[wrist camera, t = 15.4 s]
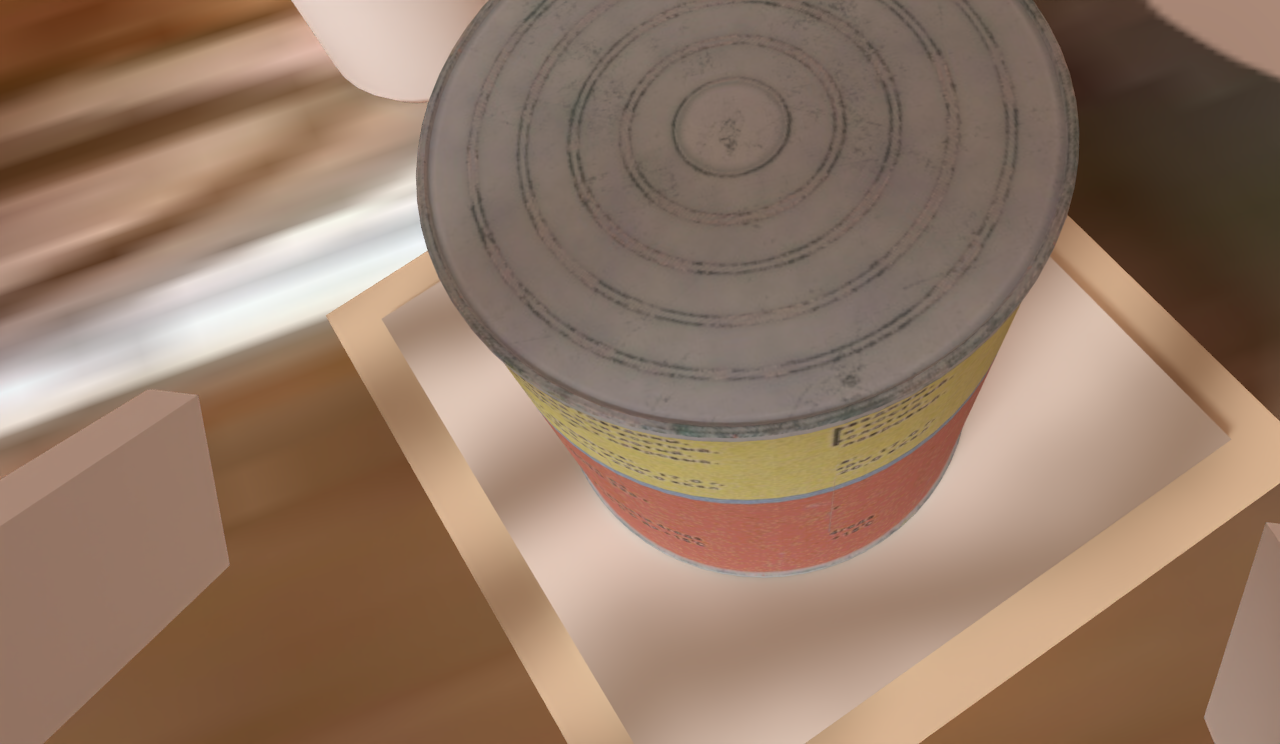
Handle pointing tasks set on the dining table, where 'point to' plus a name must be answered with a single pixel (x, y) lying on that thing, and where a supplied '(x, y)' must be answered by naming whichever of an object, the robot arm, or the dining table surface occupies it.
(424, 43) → the alcohol
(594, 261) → the canned food
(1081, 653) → the dining table surface
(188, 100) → the dining table surface
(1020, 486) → the tray
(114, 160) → the dining table surface
